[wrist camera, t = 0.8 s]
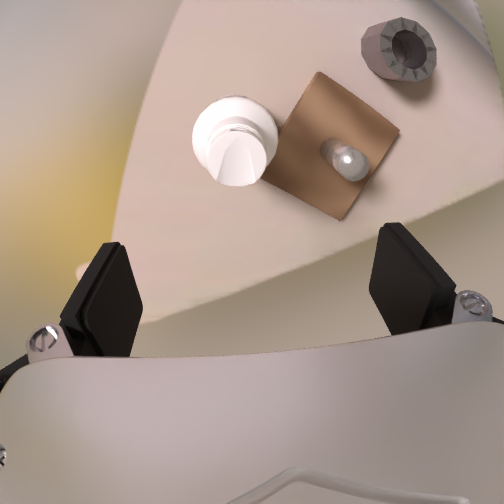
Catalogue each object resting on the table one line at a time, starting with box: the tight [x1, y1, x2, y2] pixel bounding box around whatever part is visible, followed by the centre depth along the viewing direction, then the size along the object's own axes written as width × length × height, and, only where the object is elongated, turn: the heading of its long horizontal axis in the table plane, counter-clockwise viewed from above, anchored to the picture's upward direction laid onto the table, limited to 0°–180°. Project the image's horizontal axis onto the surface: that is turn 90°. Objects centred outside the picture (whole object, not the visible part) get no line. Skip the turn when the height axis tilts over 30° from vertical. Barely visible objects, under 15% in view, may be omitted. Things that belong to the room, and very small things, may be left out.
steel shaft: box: [320, 138, 369, 181], centre depth 30 cm, size 3×3×7 cm
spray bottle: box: [192, 94, 278, 187], centre depth 25 cm, size 7×7×18 cm
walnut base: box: [260, 72, 400, 221], centre depth 34 cm, size 14×12×2 cm
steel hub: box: [361, 17, 436, 82], centre depth 26 cm, size 7×7×5 cm
